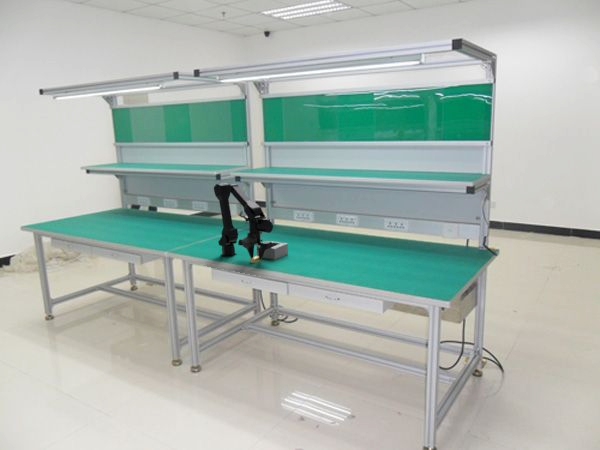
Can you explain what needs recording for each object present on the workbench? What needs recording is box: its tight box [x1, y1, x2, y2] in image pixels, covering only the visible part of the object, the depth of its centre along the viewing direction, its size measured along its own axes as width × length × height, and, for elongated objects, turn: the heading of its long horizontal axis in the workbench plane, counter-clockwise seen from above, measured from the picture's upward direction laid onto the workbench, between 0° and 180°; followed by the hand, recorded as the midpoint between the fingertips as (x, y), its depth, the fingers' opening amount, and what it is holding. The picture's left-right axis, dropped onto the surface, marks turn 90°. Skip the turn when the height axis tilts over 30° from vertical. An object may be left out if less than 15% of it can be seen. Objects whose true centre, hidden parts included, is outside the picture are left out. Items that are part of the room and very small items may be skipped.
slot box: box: [256, 240, 289, 261], centre depth 249 cm, size 12×12×6 cm
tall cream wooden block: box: [249, 254, 263, 264], centre depth 240 cm, size 3×6×2 cm, turn 146°
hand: (256, 259), depth 240 cm, fingers open, 5 cm apart
